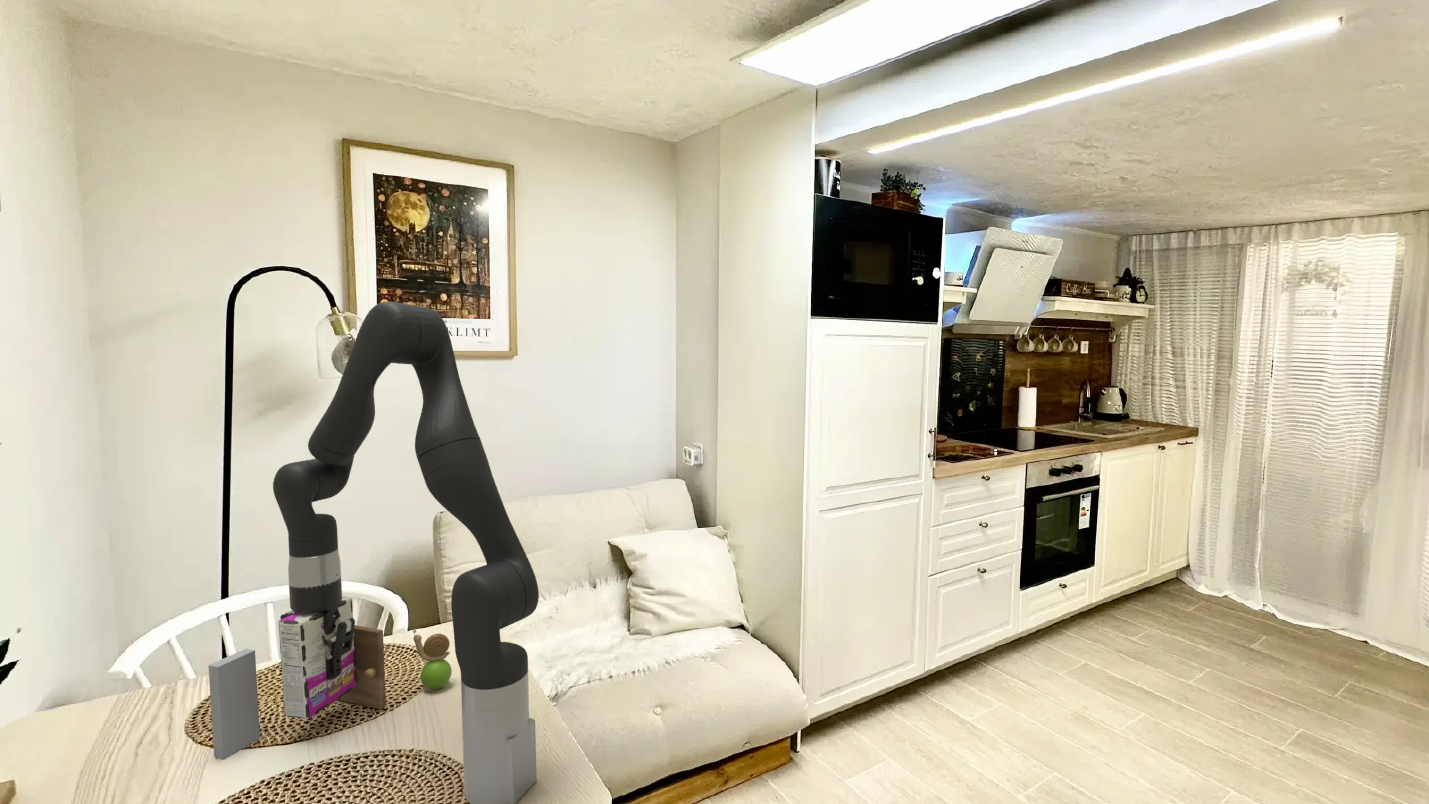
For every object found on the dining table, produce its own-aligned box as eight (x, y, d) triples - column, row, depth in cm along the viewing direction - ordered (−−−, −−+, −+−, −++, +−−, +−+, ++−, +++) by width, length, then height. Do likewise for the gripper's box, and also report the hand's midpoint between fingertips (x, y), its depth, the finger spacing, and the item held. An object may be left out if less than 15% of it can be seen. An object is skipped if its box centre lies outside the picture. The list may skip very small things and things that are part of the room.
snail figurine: (415, 685, 126) (412, 624, 126) (451, 678, 129) (449, 618, 128) (415, 698, 122) (413, 635, 121) (452, 690, 124) (450, 629, 123)
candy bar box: (333, 683, 119) (330, 594, 117) (358, 686, 118) (354, 596, 116) (281, 717, 108) (276, 619, 106) (307, 721, 107) (303, 622, 105)
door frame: (353, 683, 127) (350, 607, 126) (223, 759, 103) (217, 667, 102) (345, 681, 128) (342, 606, 127) (214, 757, 104) (208, 665, 103)
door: (334, 694, 122) (330, 620, 121) (385, 705, 118) (382, 630, 117) (322, 700, 120) (319, 626, 119) (375, 712, 116) (371, 635, 115)
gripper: (367, 574, 112) (371, 671, 114) (302, 566, 117) (306, 659, 118) (329, 590, 105) (334, 692, 107) (261, 580, 109) (267, 679, 111)
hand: (320, 674), depth 112 cm, fingers closed on candy bar box, 5 cm apart
